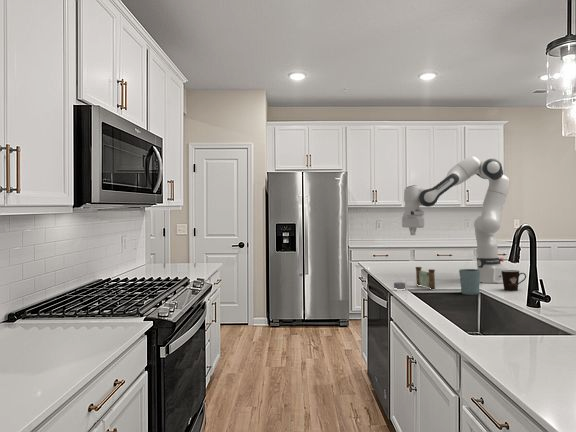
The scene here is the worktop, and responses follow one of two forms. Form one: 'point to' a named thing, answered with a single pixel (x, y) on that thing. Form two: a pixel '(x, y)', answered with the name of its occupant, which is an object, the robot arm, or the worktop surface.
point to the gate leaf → (424, 278)
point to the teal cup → (469, 281)
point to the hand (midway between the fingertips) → (413, 235)
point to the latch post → (431, 278)
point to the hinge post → (418, 274)
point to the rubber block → (399, 285)
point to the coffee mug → (511, 279)
